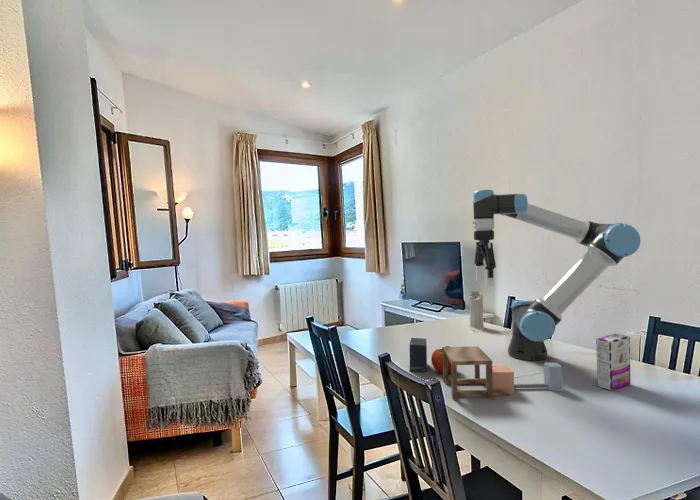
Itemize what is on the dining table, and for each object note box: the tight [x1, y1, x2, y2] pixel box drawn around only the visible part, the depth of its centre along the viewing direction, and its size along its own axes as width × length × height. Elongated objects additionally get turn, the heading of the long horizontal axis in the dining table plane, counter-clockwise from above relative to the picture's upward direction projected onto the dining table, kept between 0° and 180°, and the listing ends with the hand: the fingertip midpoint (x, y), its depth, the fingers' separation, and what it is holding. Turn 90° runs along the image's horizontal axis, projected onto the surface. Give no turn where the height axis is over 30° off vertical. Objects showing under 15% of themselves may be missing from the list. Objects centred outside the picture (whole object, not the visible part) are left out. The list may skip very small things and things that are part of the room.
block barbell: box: [485, 362, 563, 394], centre depth 136 cm, size 23×7×8 cm, turn 88°
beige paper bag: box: [468, 290, 486, 333], centre depth 218 cm, size 7×14×20 cm, turn 170°
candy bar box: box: [595, 333, 632, 392], centre depth 136 cm, size 11×5×16 cm, turn 117°
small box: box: [409, 337, 428, 373], centre depth 160 cm, size 11×6×10 cm, turn 168°
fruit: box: [430, 345, 452, 374], centre depth 155 cm, size 10×10×10 cm
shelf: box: [442, 345, 510, 400], centre depth 136 cm, size 18×16×12 cm
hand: (484, 284), depth 161 cm, fingers open, 13 cm apart
